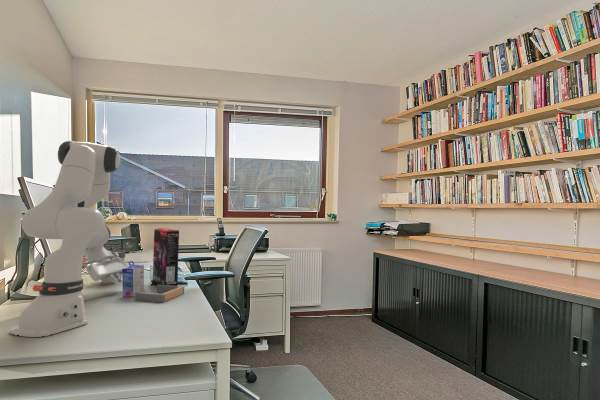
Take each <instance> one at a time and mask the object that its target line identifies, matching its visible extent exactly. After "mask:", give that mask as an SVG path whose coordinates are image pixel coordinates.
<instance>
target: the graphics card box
mask: <svg viewBox="0 0 600 400" xmlns="http://www.w3.org/2000/svg"><path fill="white" fill-rule="evenodd" d="M179 240H180V230H178V229H172V228H165V227H163V228H162V227H161V228H160V227H159V228H155V229H154V230H153V255H152V257H153V258H152V264H153V265H152V283H154V284H156V285H170V286H178V281H179V280H178V278H179V277H178V275H179V274H178V273H179V246H180V245H179V243H180V241H179Z"/></svg>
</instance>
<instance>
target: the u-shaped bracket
mask: <svg viewBox="0 0 600 400" xmlns="http://www.w3.org/2000/svg"><path fill="white" fill-rule="evenodd" d="M183 294H185V286H184V285H183V286H182V285H181V286H180V285H177V286H170V285H159V284H156V293H154V292H145V291H144V292H136V293H135V296H134V301H145V302H153V303H155V302H156V303H165V302H167V301H170V300H172V299H174V298H176V297H179V296H182V295H183Z"/></svg>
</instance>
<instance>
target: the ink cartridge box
mask: <svg viewBox="0 0 600 400" xmlns="http://www.w3.org/2000/svg"><path fill="white" fill-rule="evenodd" d="M127 262H128V265H129V266H128V267H126V268H123V269H122V278H121V280H122V282H121V283H122V284H121V285H122V297H129V298H132V297H134V298H135V293H136V292H144V293H145V266H144V264H143V265H142V264H135V263H134V261H133V260H130V261H127Z"/></svg>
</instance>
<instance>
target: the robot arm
mask: <svg viewBox="0 0 600 400" xmlns="http://www.w3.org/2000/svg"><path fill="white" fill-rule="evenodd" d="M57 150H58V151H57V159H58V163H59V164H60V165H61V167H60V170H59V173H58V175H57V179H56V182H55V184H54V187H53V189H52V190H51V192H50V193H49V194H48V195H47V197H45V198H44V199H43V200H42V201H41V202H40V203H38V204H37V205H35V206H34V207H31V208H29V209H28V210H27V211H26V212H25V213H24V214H23V215H22V219H21V228H22V230H23V232H24V233H25V234H26V236H28V237H31V238H34V239H35V238H36V239H39V240H62V242H61V245H60V247H59V249H58V248H57V250H54V251H52V252H51V253H49V254H48V255H47V256H46V258H45V259H44V265H43V267H44V268H43V270H44V272H43V281H42V283H41V285H40V284H39V285H38V284H34V285H33V286H31V287H32V291H33V292H38V293H39V294H38V295H36V297H35V298H34V299H33V300H32V301H31V302H30V303H29V304H28V305H27V306H26V307H25V308H24V309H23V310H22V311H21V312H20V315H19V321H18V325H17V326H14V327H12V328H10V329H9V333H10V334H11V335H13V334H14V335H13V336H17V335H19V337H27V338H40V337H42V336H44V337H48V336H51V334H52V335H55V334H58V333H61V332H65V331H68V330H72V329H74V328H77V327H81V326H85V325H88V320H87V317H86V312H85V302H84V301H85V300H84V296H83V293H82V292H83V289H84V279H83V277H82V275H83V263H84V257H85V258H86V259H85V260H86V261H87V262H85V264H84V267H85V269H86V272H87V273H88V275H89V276H90V278H91V279H92V280H93V281H94V282H98V281H101V280H102V279H106V278H108V279H109V280H110V281H112V282H114V283H113V284H114V285H117V284H118V285H119V284H121V283H122V278H121V279H120V275H121V274H122V269H123V268H126V267H129V266H128V265H127V264H126V262H125V260H124V261H123V260H122V259H121V258H120V257H118V256H119V255H118V253H116V252H110V251H108V250H107V248H105V247H104V245H106V244H107V243H108V242H109V240H110V238H111V234H112V233H111V230H110V228H109V227H108V226H107V225H106V219H105V216H104V215H103V213H102V212H101V211H100V210H98V209H94V208H93V206H95V205H97V204H98V203H99V202H101V201H103V200H104V199H105V198H106V197H107V196H108V195H109V193H110V192H111V191H110V190H111V173H114V172H116V171H117V170H118V169H119V166H120V164H121V155H120V151H119V150H118V149H117V148H116V147H114V146H112V145H104V144H100V143H94V142H93V143H92V142H87V141H74V140H68V141H64V142H62V143H61V144H59V147H58V149H57Z"/></svg>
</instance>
